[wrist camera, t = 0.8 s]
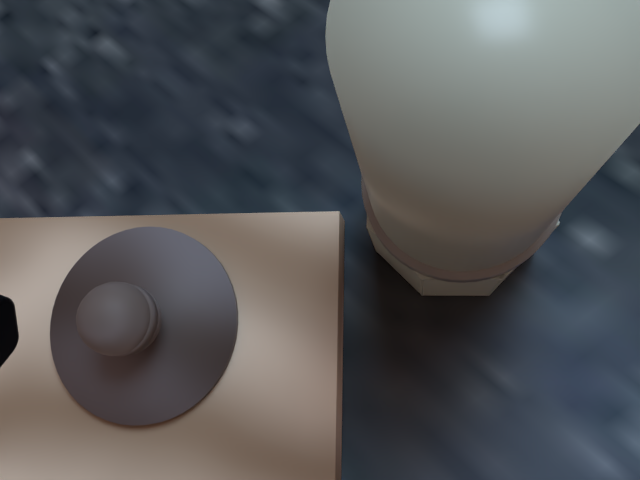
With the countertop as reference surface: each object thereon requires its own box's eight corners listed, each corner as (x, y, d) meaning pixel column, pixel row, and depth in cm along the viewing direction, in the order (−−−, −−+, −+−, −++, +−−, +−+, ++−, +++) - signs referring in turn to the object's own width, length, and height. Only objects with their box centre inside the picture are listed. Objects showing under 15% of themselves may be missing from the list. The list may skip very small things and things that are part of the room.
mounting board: (338, 703, 19) (311, 807, 15) (-47, 659, 22) (-174, 737, 17) (344, 221, 23) (324, 183, 18) (10, 227, 25) (-84, 195, 20)
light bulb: (540, 298, 21) (715, 192, 8) (373, 298, 22) (309, 202, 9) (531, 141, 22) (674, -155, 10) (374, 147, 23) (317, -116, 11)
